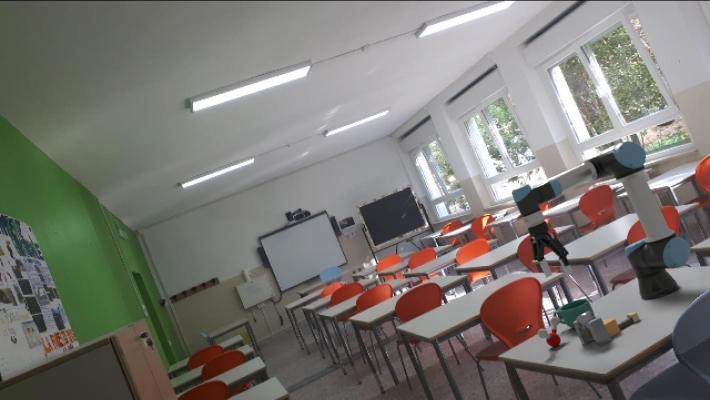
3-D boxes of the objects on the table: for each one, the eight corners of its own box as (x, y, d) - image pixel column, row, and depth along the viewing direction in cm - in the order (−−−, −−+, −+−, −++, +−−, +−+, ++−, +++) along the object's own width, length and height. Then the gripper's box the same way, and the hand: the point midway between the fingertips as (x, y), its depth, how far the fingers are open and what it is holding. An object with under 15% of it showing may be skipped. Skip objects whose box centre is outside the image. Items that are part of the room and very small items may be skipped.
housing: (592, 338, 221) (579, 310, 222) (611, 340, 211) (597, 311, 212) (582, 344, 220) (569, 316, 221) (600, 346, 209) (587, 316, 210)
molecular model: (555, 353, 222) (544, 329, 223) (542, 356, 226) (531, 332, 226) (569, 336, 236) (559, 313, 236) (557, 339, 239) (547, 316, 240)
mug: (601, 316, 244) (592, 296, 244) (591, 328, 234) (582, 306, 235) (566, 324, 255) (557, 304, 256) (555, 335, 246) (546, 314, 246)
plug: (633, 319, 223) (627, 307, 224) (641, 319, 219) (635, 307, 219) (600, 337, 219) (595, 325, 219) (608, 338, 214) (602, 325, 215)
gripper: (512, 231, 231) (534, 280, 229) (546, 223, 207) (570, 277, 205) (527, 224, 233) (549, 273, 231) (562, 215, 209) (587, 269, 208)
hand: (559, 275), depth 218 cm, fingers open, 13 cm apart
